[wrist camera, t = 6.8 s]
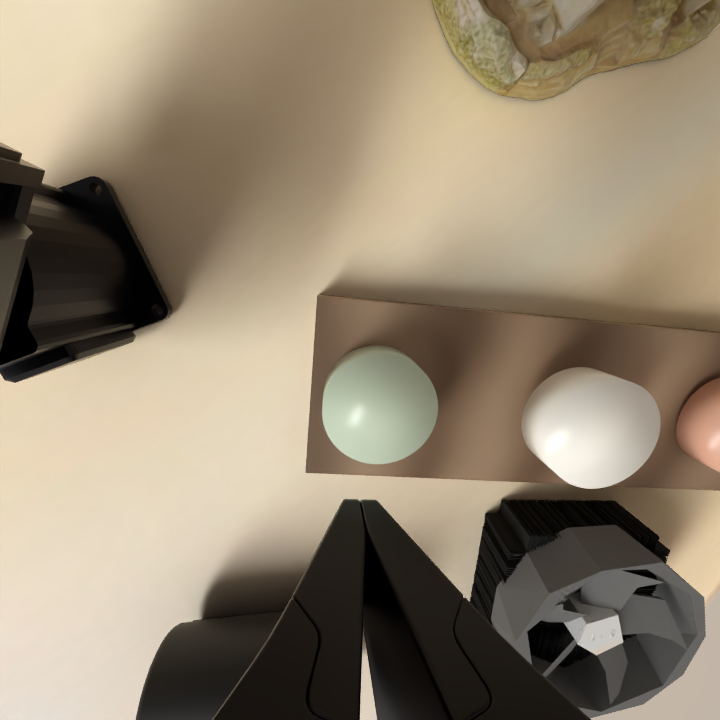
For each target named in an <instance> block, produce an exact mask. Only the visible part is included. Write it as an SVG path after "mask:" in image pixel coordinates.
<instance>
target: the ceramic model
mask: <svg viewBox="0 0 720 720" xmlns="http://www.w3.org/2000/svg"><path fill="white" fill-rule="evenodd" d="M432 2H433V6H434V8H435V11H436V14H437V17H438V19H439V21H440V24H441V27H442V30H443V33H444V36H445V38H446V39H447V41H448V44H449V46H450V48H451V50H452V52H453V53H454V55H455V56H456V58H457V59H458V60H459V61H460V63H461V64H462V65H463V66H464V67H466V70H467V71H468V72H470V74H471V75H472V76H473V77H474V78H475V79H476V80H477V81H479V82H480V83H481V84H482V85H483V86H485V87H486V88H488V89H489V90H491V91H493V92H495V93H497V94H500V95H505V96H508V97H519V98H524V99H526V100H541V99H546V98H549V97H553V96H556V95H558V94H560V93H562V92H564V91H565V90H567V89H568V88H570V87H571V86H573V85H574V84H576V83H577V82H579V81H580V80H582V79H583V78H584V77H586V76H589V75H591V74H594V73H598V72H602V71H603V72H605V71H610V70H613V69H616V68H618V67H623V66H626V65H629V64H630V65H631V64H634V63H638V62H639V63H641V62H645V61H649V60H653V59H654V60H658V59H662V58H668V57H671V56H673V55H675V54H678V53H679V52H681V51H683V50H684V49H686V48H688V47H691V46H693V45H694V44H696V43H698V42H699V41H701V40H703V39H705V38H706V37H707V36H708V34H709V33H710V32H711V30H712V29H713V28H714V27H715V26H716V25H717V24H718V23H719V22H720V0H432Z"/></svg>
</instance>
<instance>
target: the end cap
mask: <svg viewBox="0 0 720 720" xmlns="http://www.w3.org/2000/svg"><path fill="white" fill-rule="evenodd" d="M283 612H284V611H278V612H269V613H259V614H250V615H240V616H231V617H221V618H211V619H202V620H194V621H192V622H186V623H180V624H179V625H177V626H175V627H174V628H173V629H172V630H171V631H170V632H169V633H168V634H167V636H166V637H165V639H164V640H163V642H162V643H161V645H160V647H159V649H158V651H157V653H156V655H155V657H154V659H153V662H152V664H151V667H150V669H149V672H148V675H147V678H146V681H145V684H144V687H143V691H142V694H141V698H140V702H139V707H138V711H137V716H136V720H212V719H213V718H214V716H215V715H216V714H217V712H218V711H219V709H220V708H221V706H222V705H223V704H224V702H225V701H226V699H227V698H228V696H229V695H230V694H231V692H232V691H233V689H234V688H235V686H236V685H237V684H238V682H239V681H240V679H241V678H242V677H243V675H244V674H245V672H246V671H247V669H248V668H249V667H250V665H251V664H252V662H253V661H254V659H255V658H256V656H257V654H258V653H259V651H260V650H261V648H262V647H263V645H264V644H265V642H266V641H267V639H268V638H269V636H270V634H271V633H272V631H273V629H274V627H275V626H276V624H277V622H278V620H279V619H280V617H281V615H282V613H283Z"/></svg>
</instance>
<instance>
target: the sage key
mask: <svg viewBox="0 0 720 720" xmlns="http://www.w3.org/2000/svg"><path fill="white" fill-rule="evenodd" d="M437 415H438V399H437V394H436V391H435V388H434V386H433V384H432V382H431V380H430V379H429V377H428V376H427V375H426V374H425V373H424V371H423V370H422V369H421V368H420V367H419V366H418V365H417V364H416V363H415V362H414V361H413V360H412V359H411V358H410V357H409V356H407V355H406V354H405V353H403V352H401V351H399V350H397V349H395V348H392V347H388V346H381V345H372V346H365V347H361V348H358V349H356V350H353V351H351V352H350V353H348V354H346V355H345V356H344V357H342V358H341V359H340V360H339V361H338V362H337V363H336V364H335V365H334V367H333V368H332V369H331V371H330V373H329V375H328V377H327V379H326V382H325V386H324V392H323V404H322V418H323V424H324V427H325V430H326V433H327V435H328V437H329V438H330V440H331V441H332V443H333V444H334V445H335V446H336V447H337V448H338V449H339V450H340V451H341V452H342V453H344V454H345V455H346V456H348V457H350V458H352V459H354V460H357V461H359V462H363V463H368V464H387V463H392V462H396V461H399V460H401V459H404V458H406V457H407V456H409V455H411V454H412V453H414V452H415V451H417V450H418V449H419V448H420V447H421V446H422V445H423V444H424V443H425V442H426V440H427V439H428V437H429V436H430V434H431V433H432V431H433V429H434V426H435V423H436V420H437Z"/></svg>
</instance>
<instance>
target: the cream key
mask: <svg viewBox="0 0 720 720" xmlns="http://www.w3.org/2000/svg"><path fill="white" fill-rule="evenodd" d="M660 426H661V421H660V412H659V409H658V406H657V404H656V402H655V400H654V398H653V397H652V396H651V394H650V393H649V392H648V391H647V390H645V389H644V388H643V387H641V386H639V385H637V384H635V383H633V382H630V381H627V380H624V379H621V378H619V377H616V376H613V375H610V374H607V373H605V372H602V371H599V370H596V369H593V368H587V367H575V368H569V369H565V370H562V371H560V372H557V373H555V374H553V375H552V376H550V377H549V378H547V379H546V380H544V381H543V382H542V383H541V384H540V385H539V386H538V387H537V388H536V389H535V390H534V392H533V393H532V394H531V396H530V397H529V399H528V401H527V403H526V405H525V408H524V411H523V415H522V425H521V427H522V434H523V438H524V441H525V443H526V445H527V446H528V448H529V449H530V450H531V452H532V453H533V454H534V455H535V456H537V457H538V458H539V459H540V460H541V461H542V462H543V463H545V464H546V465H547V466H548V467H549V468H550V469H551V470H552V471H554V472H555V473H556V474H557V475H558V476H559V477H560V478H562V479H563V480H564V481H566V482H567V483H569V484H571V485H574V486H576V487H580V488H587V489H597V488H604V487H608V486H611V485H614V484H616V483H619V482H621V481H623V480H625V479H626V478H628V477H629V476H631V475H632V474H633V473H635V472H636V471H637V470H638V469H639V468H640V467H641V466H642V465H643V464H644V463H645V462H646V461H647V459H648V458H649V456H650V455H651V453H652V452H653V450H654V448H655V446H656V443H657V441H658V437H659V433H660Z"/></svg>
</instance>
